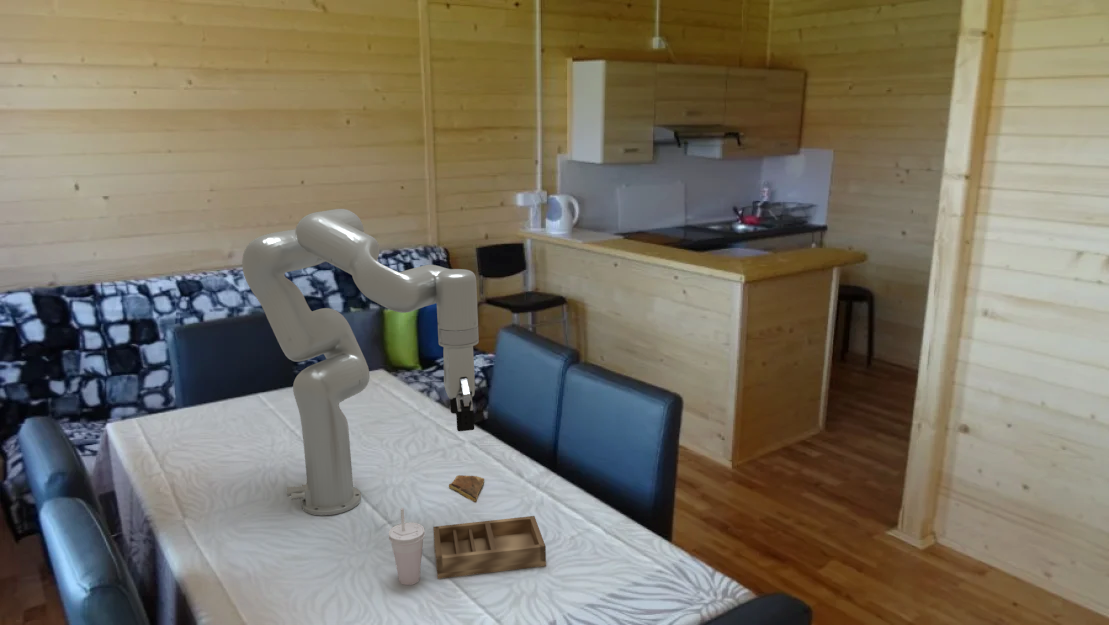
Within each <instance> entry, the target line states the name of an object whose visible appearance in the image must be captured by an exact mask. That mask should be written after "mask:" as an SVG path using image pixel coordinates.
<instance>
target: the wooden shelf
mask: <svg viewBox="0 0 1109 625" xmlns="http://www.w3.org/2000/svg"><path fill="white" fill-rule="evenodd" d="M537 522H538V521H537V519H536V516H535V515H529V516H521V517H511V518H510V517H509V518H503V519H493V520H491V519H490V520H482V521H475V522H474V521H473V522H466V523H464V522H463V523H455V524H446V525H445V524H444V525H436V526H433V528H432V530H433V531H432V532H433V546H434V556H435V566H436V575H437V580H439V579H440V580H441V579H447V578H455V577H456V578H457V577H464V576H473V575H480V574H489V573H497V572H499V573H500V572H505V571H515V570H522V569H531V568H540V567H547V566H546V565H547V560H546V558H547V551H546V548H547V547H546V543H545V542H544V538H543V536H542V534H541V531H540V527H539V524H538V523H537Z"/></svg>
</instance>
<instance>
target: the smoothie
mask: <svg viewBox="0 0 1109 625" xmlns="http://www.w3.org/2000/svg"><path fill="white" fill-rule="evenodd" d="M400 520H401V521H400V522H401V523H399V524H396V525H395V526H393V527H391V528H390V530H389V531H388V540H389V542H391V543H390V544H391V547H392V552H393V557H394V562H395V566H396V572H397V576H398V580H399V581H398V582H399V583H400V584H401V585H404V586H412V585H414V584H418V583H419V581H420V579H421V568H422V554H423V542H424V538H425V536H426V532H425V528H424V526H423V525H422V524H419V523H418V522H405V508H404V507H403V508H402V507H401V508H400Z"/></svg>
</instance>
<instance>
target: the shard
mask: <svg viewBox="0 0 1109 625" xmlns="http://www.w3.org/2000/svg"><path fill="white" fill-rule="evenodd" d="M484 482H485V478H484V477H481V476H477V475H460V474H459V475H456V477H455V479H454V480H453V481H452V482H451V483H449V484H448V487H449V489H451V490H454V491H456V492H458V493H459V494H460V495H462V496H463V497H464V498H466V499H468V500H470V501H472V502H475V503H477V500H478V495H479V493H480V491H481V489H482V487H483V485H484Z"/></svg>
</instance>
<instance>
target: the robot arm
mask: <svg viewBox="0 0 1109 625" xmlns="http://www.w3.org/2000/svg"><path fill="white" fill-rule="evenodd" d="M379 256H380V245H379V241H377V239H376V238H375V237H374V236H372V235H370V234H368V233H366V232H365V229H364V224H363V222H362V220H361V218H360V217H359V216H358V215H357V214H356V213H354V212H353V211H351V210H349V209H346V208H335V209H329V210H323V211H322V210H321V211H317V212H312V213H309V214H307V215H305V216H304V217H302V218H301V219H300V220H299V222H298V223H297V225H296V227H295V229H288V230H282V231H275V232H272V233H271V232H270V233H267V234H263V235H260V236H258V237H255V238H254V239H253V240H251V241H250V242H249V243H248V244H247V245H246V247H245V249H244V251H243V254H242V262H241V263H242V264H241V266H242V267H241V268H242V272H243V276H244V280H245V281H246V283H247V285H248V287H249V289H250V290H251V292H252V293H253V294H254V296H255V298H256V299H257V301H258V302H259V304H260V305H261V308H262V310H263V311H264V314H265V316H266V319H267V321H268V323H269V325H270V327H271V329H272V332H273V334H274V336H275V338H276V340H277V343H278V344H279V346H280V348H281V350H282V352H283V353H284V355H285V357H286V358H287V359H288V360H289V361H290V360H291V361H292V362H304V361H307V360H311V359H314V358H316V357H319V356H322V355H324V357H325V359H324V360H321V361H319V362H317V363H314V364H311V365H309V366H307V367H306V368H304V369H303V370H301V371H299V373H298V374H297V375H296V377H295V379H294V381H293V386H292V391H293V395H294V399H295V402H296V406H297V409H298V412H299V417H300V424H301V433H302V435H301V436H302V441H303V454H304V464H305V472H306V474H305V476H306V482H305V484H301V486H290V487H289V486H287V487H286V497H291V498H290V499H291V500H292V501H294V500H301V501H300V502H301V509H302V510H303V511H305V513H308V514H311V515H314V516H333V515H338V514H342V513H345V512H347V511H350V510H352V509H354V508H355V507H357V505H359V504H360V502H361V501H362V492H361V490H359V488H357V487H355V486H354V481H353V468H352V467H353V466H352V456H351V455H352V454H351V443H350V442H351V441H350V431H349V422H348V419H347V417H346V415H345V414H344V412H343V411H342V409H341V407H340V403H341V402H344V401H345V400H347V399H349V398H351V397H353V396H356V395H358V394H359V393H361V392H362V391H364V390H365V389H366V388H367V386H369V382H370V369H369V366H368V362H367V360H366V358H365V356H364V354H363V352H362V350H361V347H360V345H359V343H358V341H357V339H356V336H355V333H354V331H353V330H352V327H351V325H350V324H349V322H348V320H347V318H346V317H344V315H343V314H342V313H340V312H339V311H337V310H335V309H333V308H329V307H324V308H319V309H316V310H313V311H312V310H311V308H310V306H309V304H308V303H307V301H306V298H305V296H304V294H303V292H302V291H301V289H300V288H299V287H298V286H297V285H296V284H295V283H294V282H292V281H291V280H290V279H288V277H286V276H285V274H286V273H291V272H294V271H299V270H303V269H307V268H310V267H311V268H312V267H315V266H318V265H320V264H322V263H323V264H324V263H325V262H326V263H328V264H331V265H332V266H334V267H335V268H338V269H339V270H342V271H344V272H345V273H348V274H349V275H351V276H352V279H353V282H354V284H355V285H356V287H357V288H358V290H359V291H360V292H361V293H362V294H363V295H364V296H365V297H366V298H368V299H369V300H370V301H372V302H374V303H377V304H378V305H380V306H382V307H384V308H386V309H388V310H391V311H393V312H397V313H403V314H405V313H406V314H407V313H411V312H414V311H417V310H419V309H422V308H424V307H428V306H431V305H435V304H436V314H437V315H436V316H437V337H438V345H439V346H440V347H442V348H443V386H444V390H445V392H446V395H447V397H448V398H449V401H450V402H449V403H450V412H451V414H455V415H456V430H457V431H458V432H469V431H474V430H475V410H474V405H473V397H474V396H475V395H476V394H475V391H476V389H475V388H476V387H475V386H476V385H475V383H476V382H475V380H476V378H475V376H476V375H475V358H474V346H477V345H478V344H479V341H480V340H479V338H480V337H479V318H478V317H479V315H478V313H479V312H478V293H477V291H478V290H477V288H478V287H477V277H476V275H475V273H474V272H473V271H472V270H469V269H463V268H462V269H461V268H453V269H452V268H448V267H447V268H446V267H443V266H439V265H436V264H425V265H421V266H418V267H414V268H410V269H406V270H402V271H397V270H395V269H392V268H390V267H388V266H386V265H384V264H382V263H380V262H379V261H378V259H379Z"/></svg>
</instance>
